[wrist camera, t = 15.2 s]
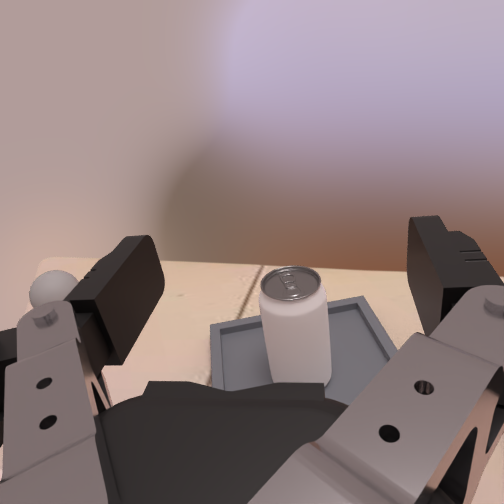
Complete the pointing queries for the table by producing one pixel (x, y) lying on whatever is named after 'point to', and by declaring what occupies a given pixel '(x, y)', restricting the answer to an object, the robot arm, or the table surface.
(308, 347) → the can
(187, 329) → the table surface
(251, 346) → the tray
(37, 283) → the lightbulb
